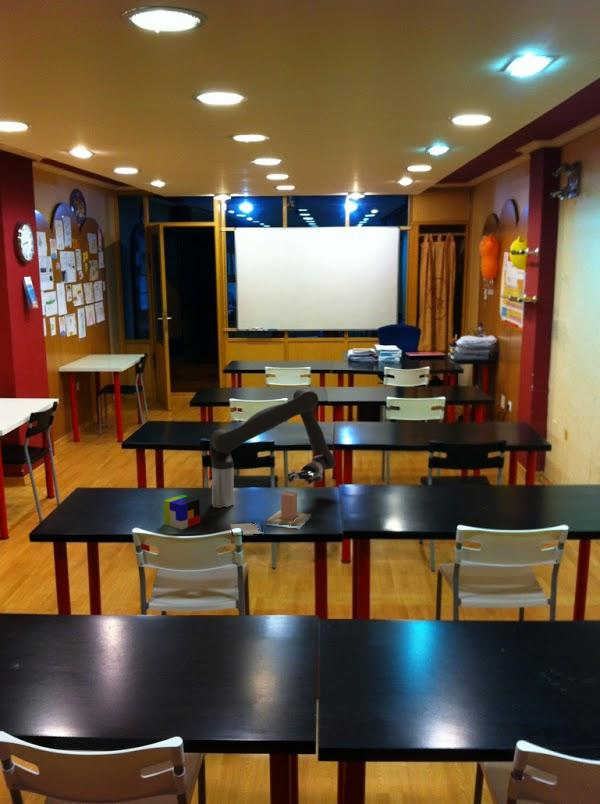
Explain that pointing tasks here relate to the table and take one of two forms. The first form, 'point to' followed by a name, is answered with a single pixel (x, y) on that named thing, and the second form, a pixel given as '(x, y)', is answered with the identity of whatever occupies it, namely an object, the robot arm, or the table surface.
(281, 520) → the puzzle board
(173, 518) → the puzzle toy
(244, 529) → the grey pad
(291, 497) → the terracotta block
